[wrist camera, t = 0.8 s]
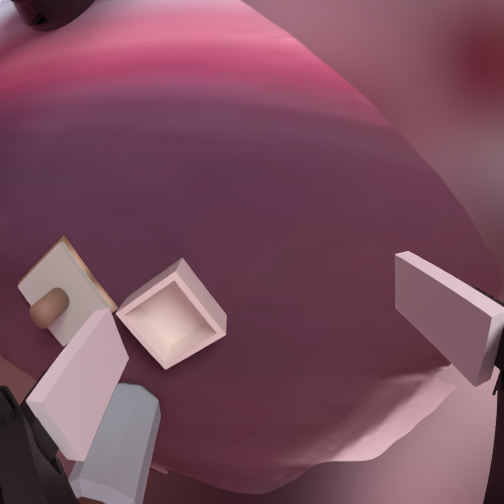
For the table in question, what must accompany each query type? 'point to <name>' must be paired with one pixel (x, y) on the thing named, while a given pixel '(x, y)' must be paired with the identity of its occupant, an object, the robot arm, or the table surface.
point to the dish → (173, 315)
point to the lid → (61, 294)
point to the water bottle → (119, 450)
